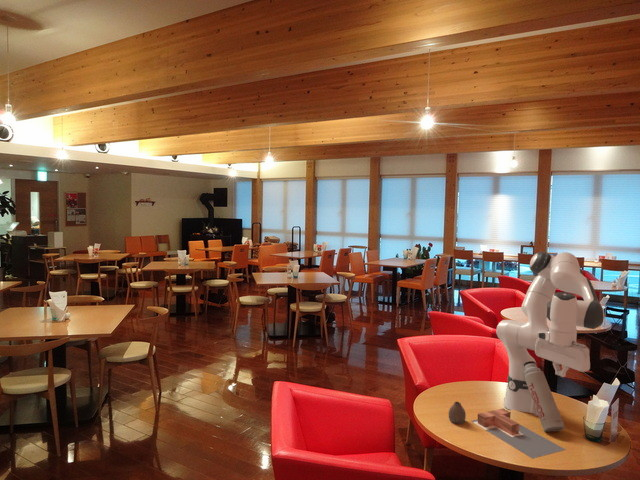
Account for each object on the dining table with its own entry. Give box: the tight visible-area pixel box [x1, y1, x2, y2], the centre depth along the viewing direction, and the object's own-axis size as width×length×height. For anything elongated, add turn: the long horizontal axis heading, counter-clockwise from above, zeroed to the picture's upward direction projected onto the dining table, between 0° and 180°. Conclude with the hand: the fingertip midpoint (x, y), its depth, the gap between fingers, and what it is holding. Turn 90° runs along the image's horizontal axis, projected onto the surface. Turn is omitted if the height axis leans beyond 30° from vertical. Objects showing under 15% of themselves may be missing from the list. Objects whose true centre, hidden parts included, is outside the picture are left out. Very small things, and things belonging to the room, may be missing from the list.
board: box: [471, 418, 566, 459], centre depth 181 cm, size 17×32×1 cm, turn 23°
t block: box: [477, 408, 520, 435], centre depth 186 cm, size 14×13×4 cm
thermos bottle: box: [524, 361, 566, 433], centre depth 191 cm, size 8×8×28 cm
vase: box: [448, 401, 467, 425], centre depth 191 cm, size 7×7×9 cm
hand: (560, 375), depth 166 cm, fingers closed
